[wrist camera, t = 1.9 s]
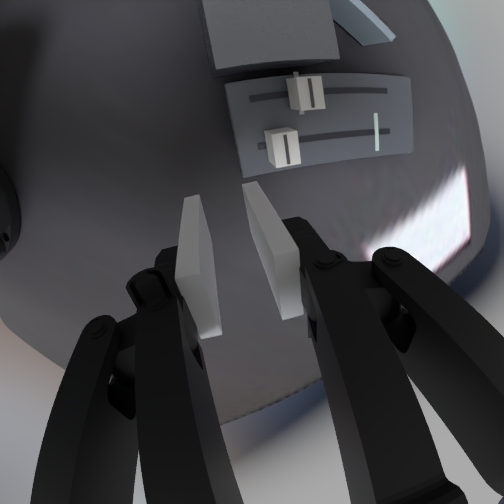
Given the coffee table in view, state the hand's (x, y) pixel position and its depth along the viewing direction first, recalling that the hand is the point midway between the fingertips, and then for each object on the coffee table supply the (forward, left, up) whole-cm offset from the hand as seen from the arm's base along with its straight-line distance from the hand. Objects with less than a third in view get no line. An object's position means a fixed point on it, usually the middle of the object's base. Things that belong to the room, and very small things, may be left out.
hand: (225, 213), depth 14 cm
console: (+14, +2, -16) cm, 21 cm away
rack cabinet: (+7, +13, -16) cm, 22 cm away
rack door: (+16, +15, -16) cm, 27 cm away
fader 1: (+6, 0, -14) cm, 16 cm away
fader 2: (+9, +5, -14) cm, 18 cm away
